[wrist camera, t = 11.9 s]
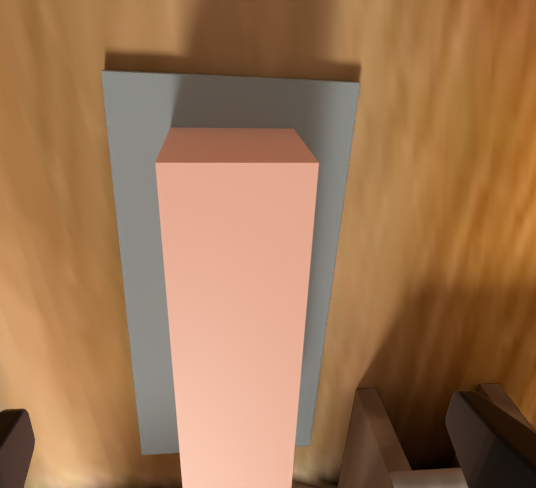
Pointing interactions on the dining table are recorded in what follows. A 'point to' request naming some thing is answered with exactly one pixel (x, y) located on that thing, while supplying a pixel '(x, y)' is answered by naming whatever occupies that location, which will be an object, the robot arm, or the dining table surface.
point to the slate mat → (148, 217)
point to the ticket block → (236, 297)
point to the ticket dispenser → (398, 447)
